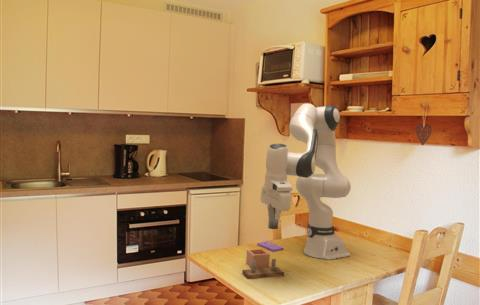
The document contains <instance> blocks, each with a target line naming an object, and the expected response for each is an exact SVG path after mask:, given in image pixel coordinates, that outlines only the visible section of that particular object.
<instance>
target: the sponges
mask: <svg viewBox="0 0 480 305" xmlns="http://www.w3.org/2000/svg"><path fill="white" fill-rule="evenodd" d="M256 245H257V246H258V247H260V248H262V249H264V250H268V251H270V252H272V253H275V252H276V253H277V252H280V251H284V247H283V246H281V245H277V244H276V243H273V242H271V241H268V240H265V241H261V242H257V244H256Z"/></svg>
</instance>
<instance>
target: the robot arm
mask: <svg viewBox="0 0 480 305" xmlns="http://www.w3.org/2000/svg"><path fill="white" fill-rule="evenodd" d="M340 120H341V113H340V110H339V109H338V108H337V107H336V105H326V106H317V107H316V106H315V105H314V104H311V103H303V104H301V105H300V106H298V108H297V109H296V111H295V112H294V114H293V116H292V118H291V120H290V122H289V126H288V130H289V133H290V135H291V136H292V137H293V138H294V139H295V140H296V141H300V142H302V143H304V144H306V148H305V151H304V152H293V151H292V152H290V151H288V146H287V145H286V144H284V143H274V144H273V143H272V144H270V145H269V146H268V148H267V152H266V159H265V167H266V171H265V172H266V173H265V174H264V184H263V186H262V187H261V193H260V201H261V204H264V205H266V208H267V216H268V217H269V204H271V206H272V207H273V208H275V211H276V213H275V215H274V219H276V220H278V221H279V220H280V216H281V214H282V212H289V211H290V209H291V204H292V193H291V192H292V191H293V185H291V183H290V182H289V181H288V176H293V177H297V178H296V181H295V187H296V190H297V193H298V194H300V196H302V197H303V198H304V200H305V201H306V204H307V206H308V215H309V217H308V223H307V229H306V230H307V233H306V234H307V239H306V242H305V246H304V250H303V253H304V254H305V255H306V256H309V257H312V258H317V259H322V260H327V261H330V260H335V259H336V258H337V259H342V258H347V256H348V257H351V253H350V252H349V250H346V243H345V241H344V240H343V239H341V237H340V236H338V234H336V233H338V232H339V231H340V228H339V227H337V226H333V216H334V214H333V210H332V208H331V207H330V206H329V205H328V204H326V203H323V201H322V200H321V198H332V199H339V198H346V197H347V196H348V195H349V193H350V191H351V190H352V189H351V187H352V185H351V182H350V180H349V178H348V177H346V176H345V175H344V174H343V173H342V172H341V171H340V169H339V166H338V164H337V154H336V153H337V151H336V150H337V140H336V132H335V130H336V129H337V127H338V126H339V124H340ZM316 168H319V169H321V170H322V171H323V172H324V173H315V171H316ZM341 257H342V258H341ZM337 259H336V260H337Z"/></svg>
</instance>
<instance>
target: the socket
mask: <svg viewBox="0 0 480 305" xmlns="http://www.w3.org/2000/svg"><path fill="white" fill-rule="evenodd" d="M270 257H271V254H270V253H269V252H268V251H266V249H265V248H254V249H253V248H251V249H246V258H245V259H246V265H247V266H249V267H250V268H251V262H252V260H255V261H256V269H260V268H270V261H271V260H270V259H271V258H270Z"/></svg>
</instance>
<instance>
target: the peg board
mask: <svg viewBox="0 0 480 305" xmlns="http://www.w3.org/2000/svg"><path fill="white" fill-rule="evenodd" d="M276 265H277V259H276V258H272V259H271V264H270V266H271V267H269V268H260V269H256V261H255V260H252V262H251V267H250V268H249V269H242V271H241V272H242V273H241V274H242V275H243V276H244V277H245V278H246V279H247V280H253V279H262V278H271V277H272V278H273V277H274V278H275V277H283V276H285V271H283V270H282V269H281V268H280V267H278V266H276Z"/></svg>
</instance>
